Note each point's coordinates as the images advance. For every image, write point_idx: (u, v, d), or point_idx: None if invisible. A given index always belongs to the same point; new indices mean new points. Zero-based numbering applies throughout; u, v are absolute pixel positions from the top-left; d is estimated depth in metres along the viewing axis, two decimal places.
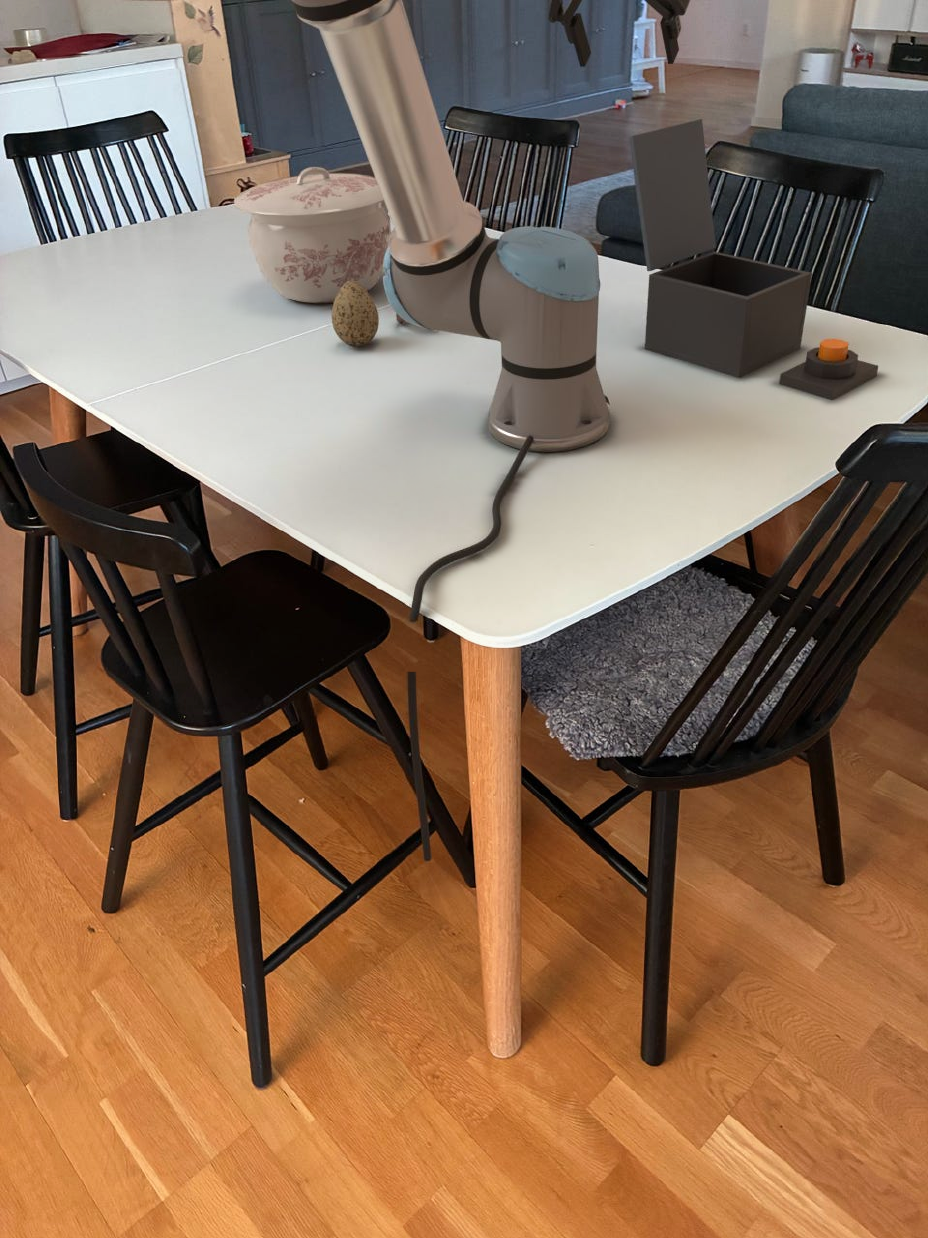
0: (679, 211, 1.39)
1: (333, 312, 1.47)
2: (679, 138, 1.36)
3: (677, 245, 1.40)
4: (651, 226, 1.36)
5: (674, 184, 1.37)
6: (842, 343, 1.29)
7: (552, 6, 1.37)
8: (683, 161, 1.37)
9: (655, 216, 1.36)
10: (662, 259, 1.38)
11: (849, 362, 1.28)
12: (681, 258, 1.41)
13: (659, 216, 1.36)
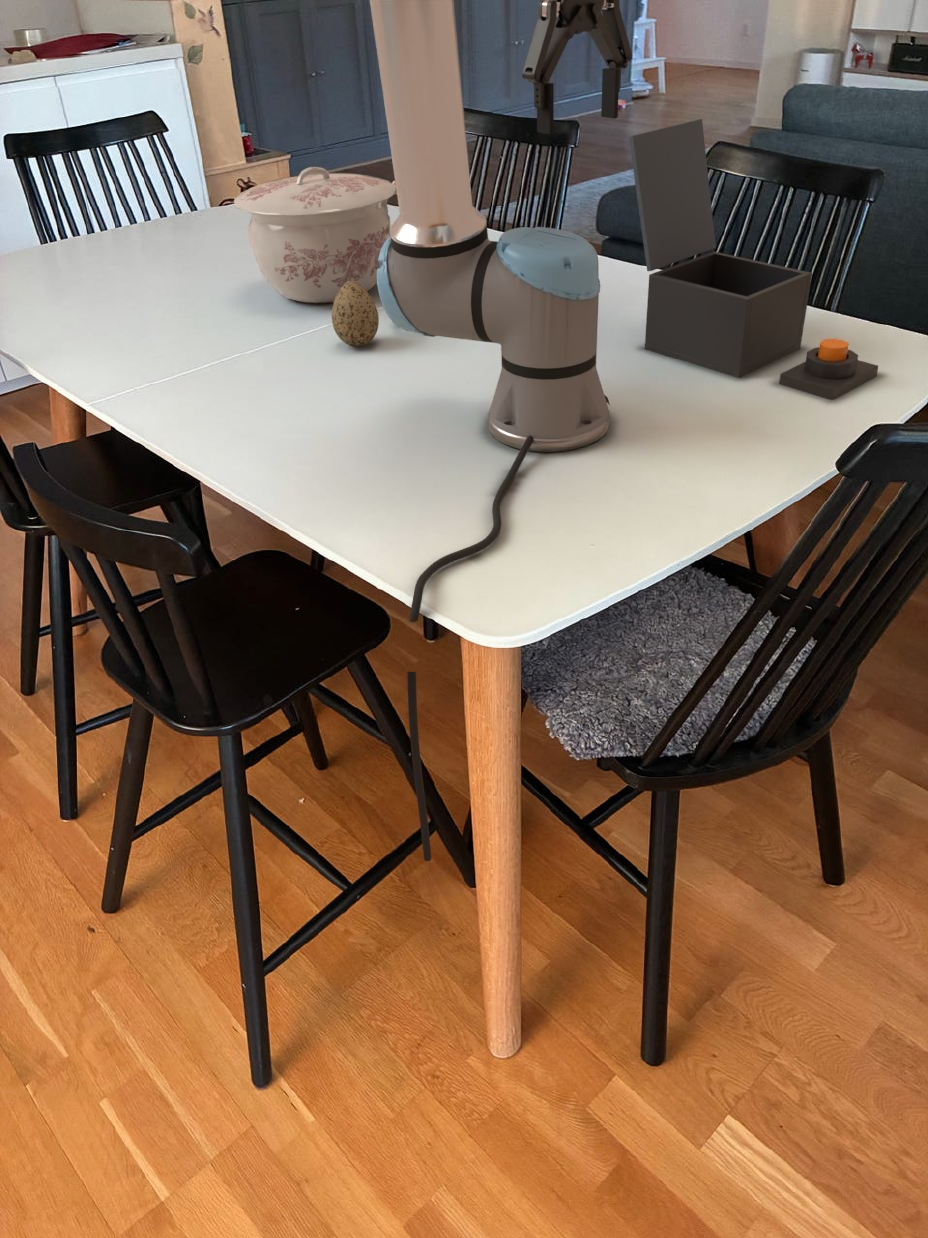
0: (679, 211, 1.39)
1: (333, 312, 1.47)
2: (679, 138, 1.36)
3: (677, 245, 1.40)
4: (651, 226, 1.36)
5: (674, 184, 1.37)
6: (842, 343, 1.29)
7: (540, 59, 1.35)
8: (683, 161, 1.37)
9: (655, 216, 1.36)
10: (662, 259, 1.38)
11: (849, 362, 1.28)
12: (681, 258, 1.41)
13: (659, 216, 1.36)
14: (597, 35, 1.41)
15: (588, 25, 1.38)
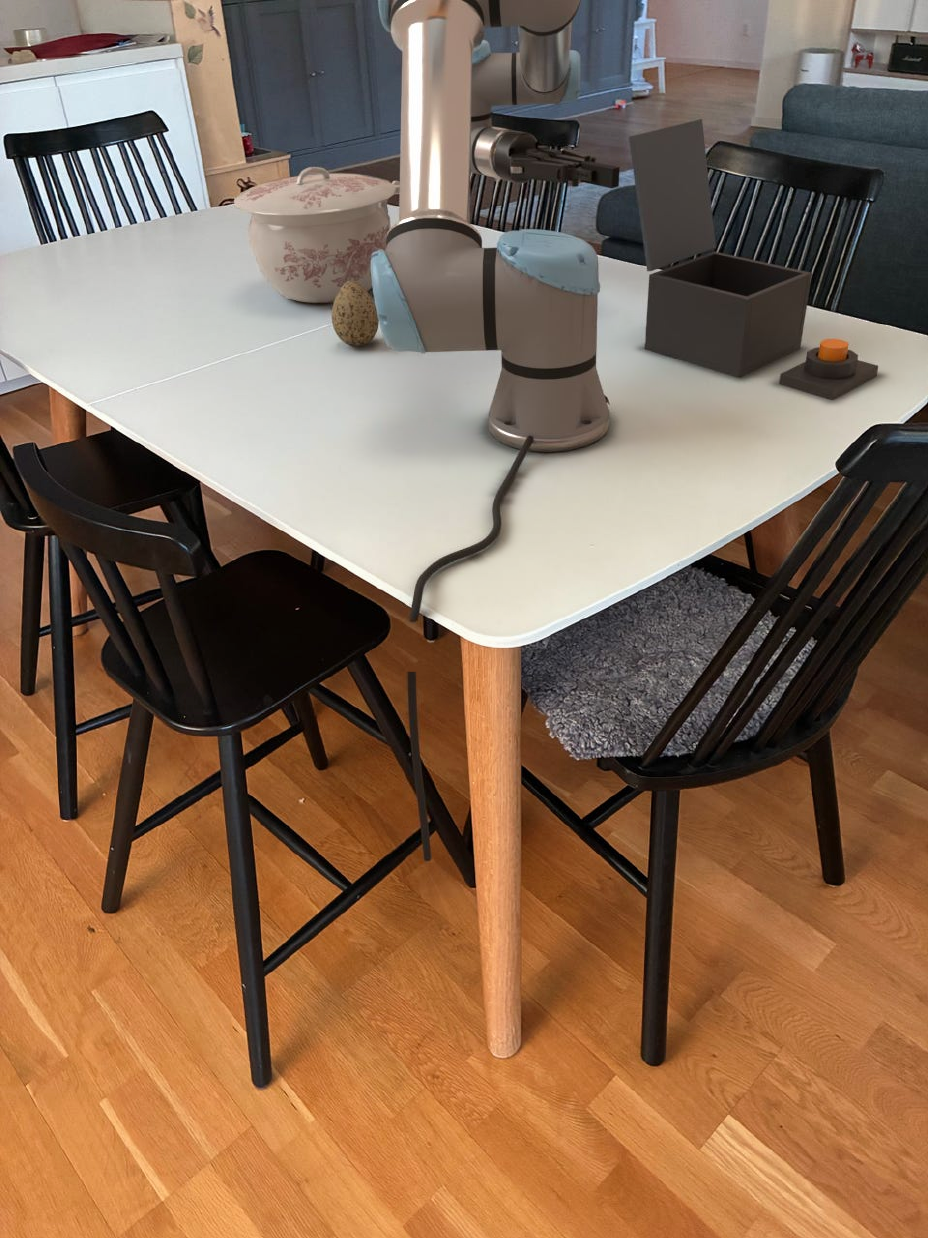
0: (679, 211, 1.39)
1: (333, 312, 1.47)
2: (679, 138, 1.36)
3: (677, 245, 1.40)
4: (651, 226, 1.36)
5: (674, 184, 1.37)
6: (842, 343, 1.29)
7: (551, 163, 1.48)
8: (683, 161, 1.37)
9: (655, 216, 1.36)
10: (662, 259, 1.38)
11: (849, 362, 1.28)
12: (681, 258, 1.41)
13: (659, 216, 1.36)
14: None
15: (548, 154, 1.54)
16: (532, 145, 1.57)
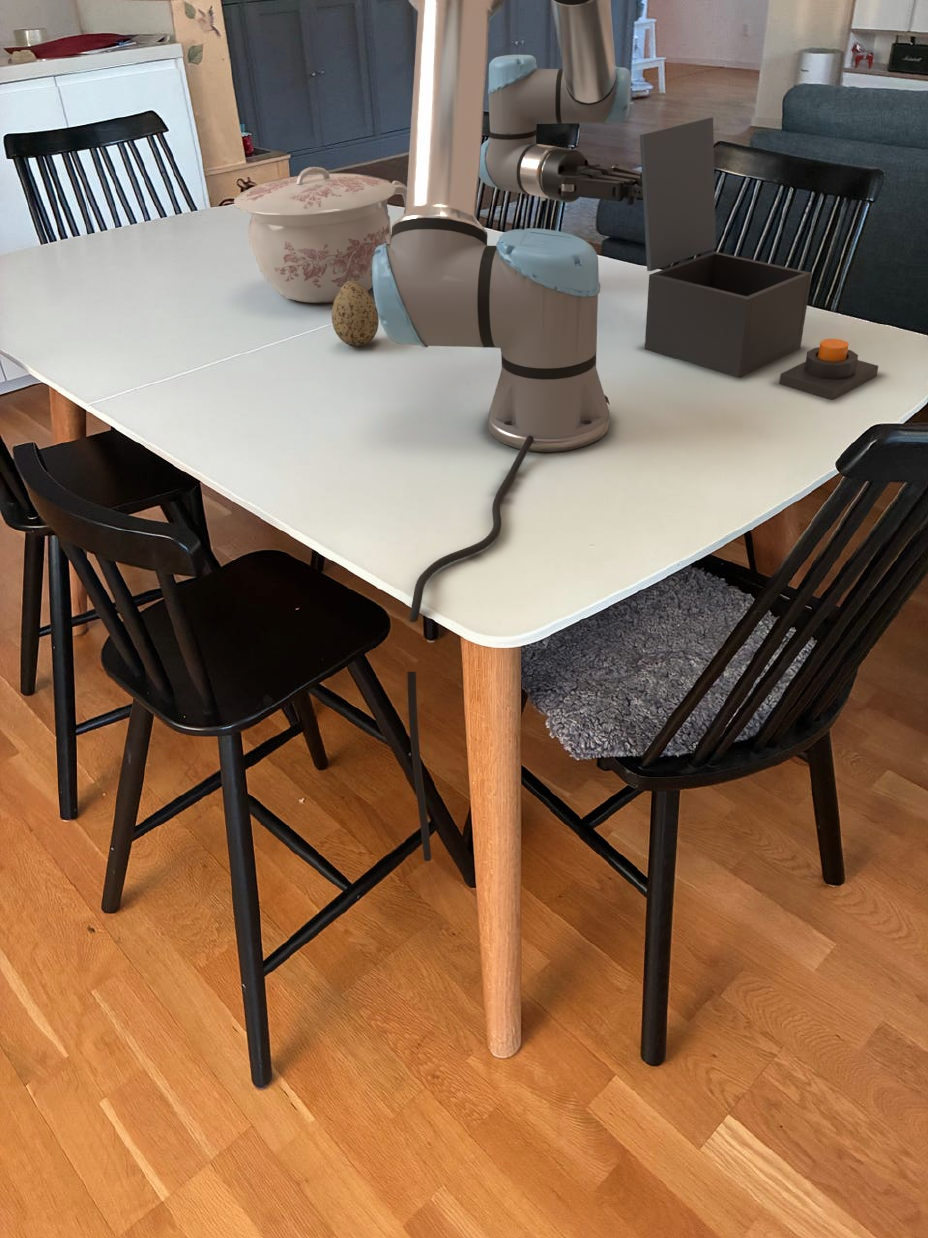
0: (683, 211, 1.38)
1: (333, 312, 1.47)
2: (689, 137, 1.35)
3: (679, 245, 1.40)
4: (654, 226, 1.35)
5: (680, 184, 1.36)
6: (842, 343, 1.29)
7: (606, 181, 1.41)
8: (691, 160, 1.36)
9: (660, 216, 1.35)
10: (663, 259, 1.38)
11: (849, 362, 1.28)
12: (681, 258, 1.41)
13: (663, 216, 1.36)
14: None
15: None
16: (581, 163, 1.50)
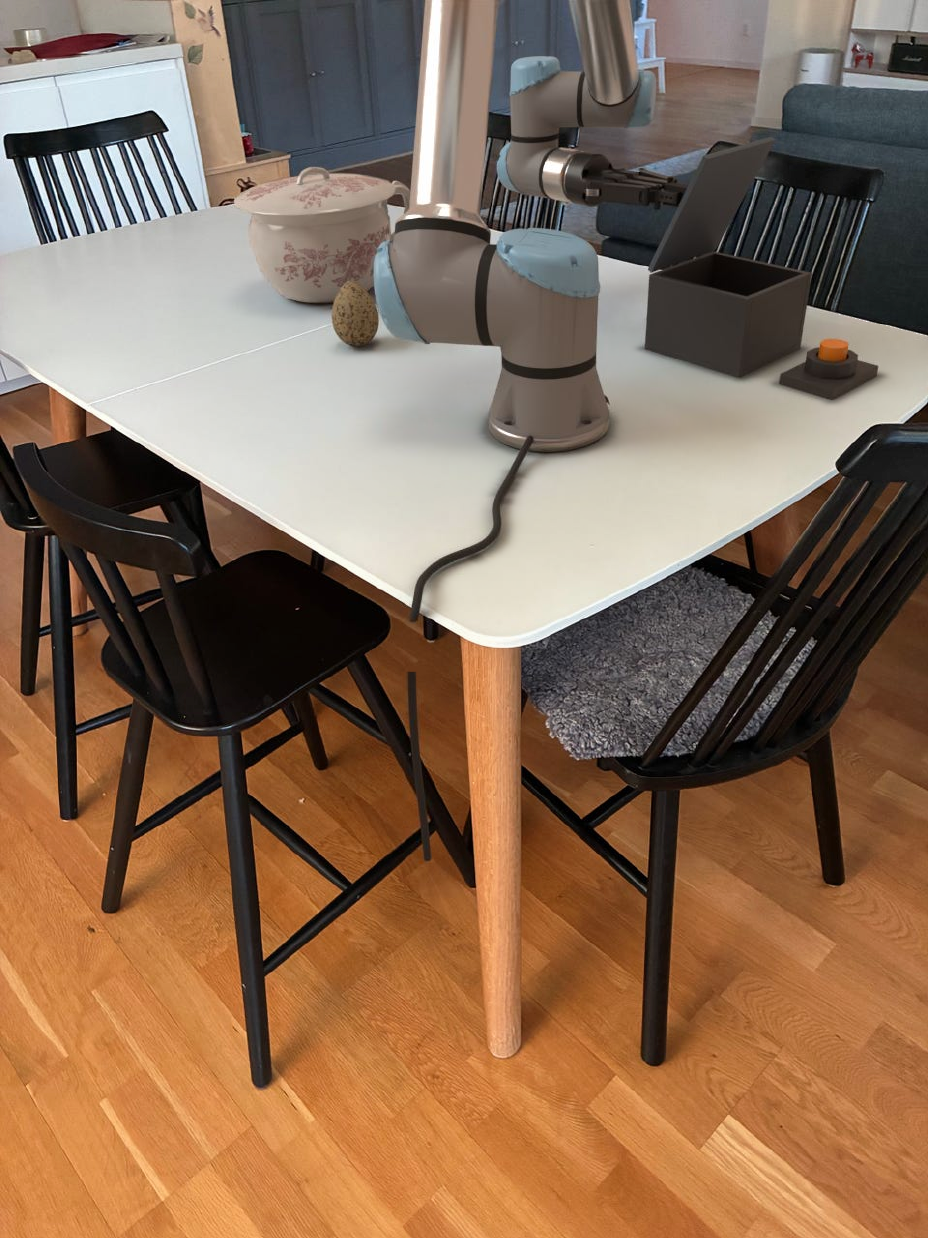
0: (704, 222, 1.36)
1: (333, 312, 1.47)
2: (745, 159, 1.30)
3: (685, 250, 1.39)
4: (673, 236, 1.34)
5: (715, 199, 1.33)
6: (842, 343, 1.29)
7: (632, 185, 1.38)
8: (735, 179, 1.32)
9: (682, 227, 1.33)
10: (665, 262, 1.38)
11: (849, 362, 1.28)
12: (681, 260, 1.41)
13: (685, 227, 1.34)
14: None
15: None
16: (605, 166, 1.47)
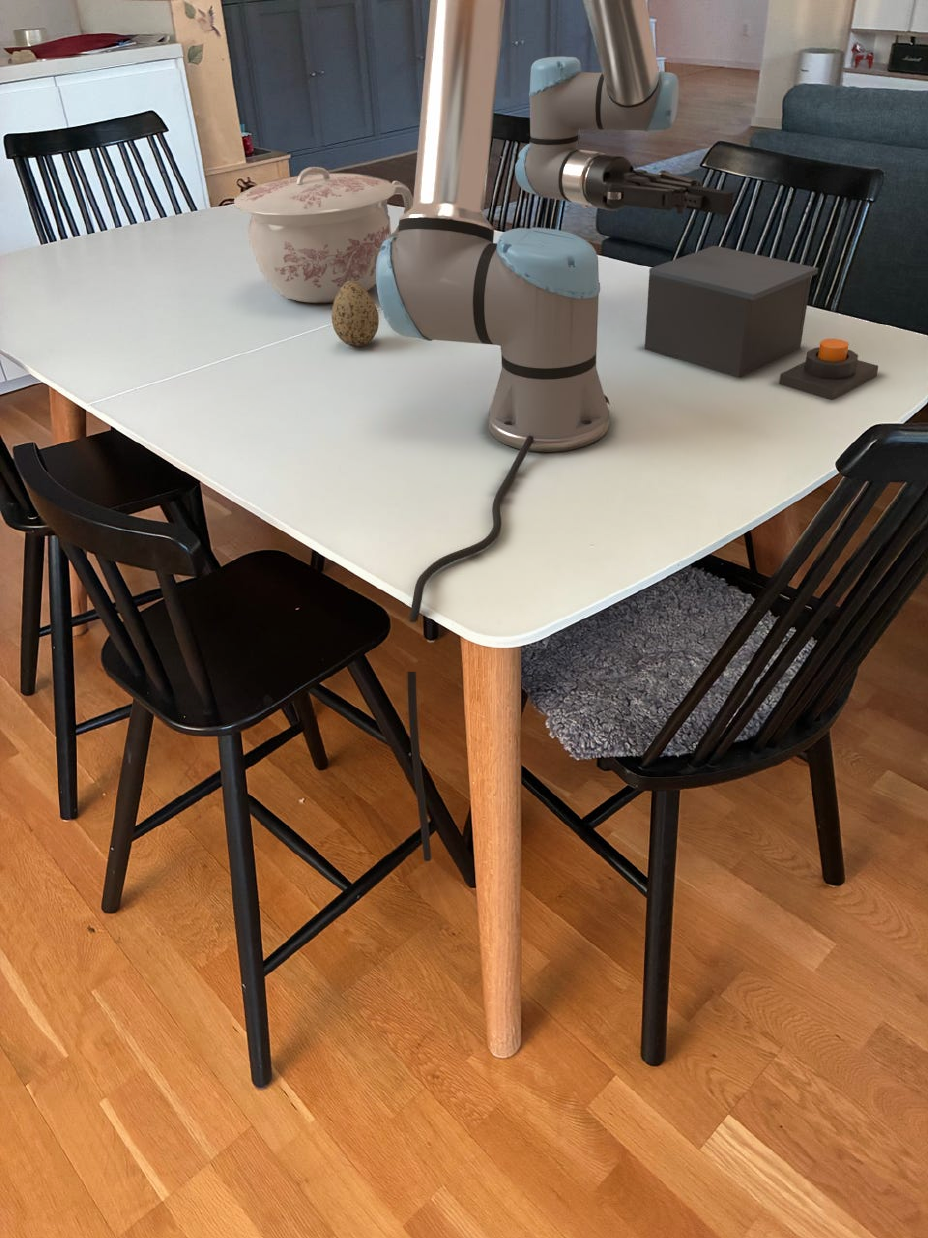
0: None
1: (333, 312, 1.47)
2: None
3: None
4: None
5: None
6: (842, 343, 1.29)
7: (655, 189, 1.36)
8: None
9: None
10: None
11: (849, 362, 1.28)
12: None
13: None
14: None
15: None
16: (627, 169, 1.44)
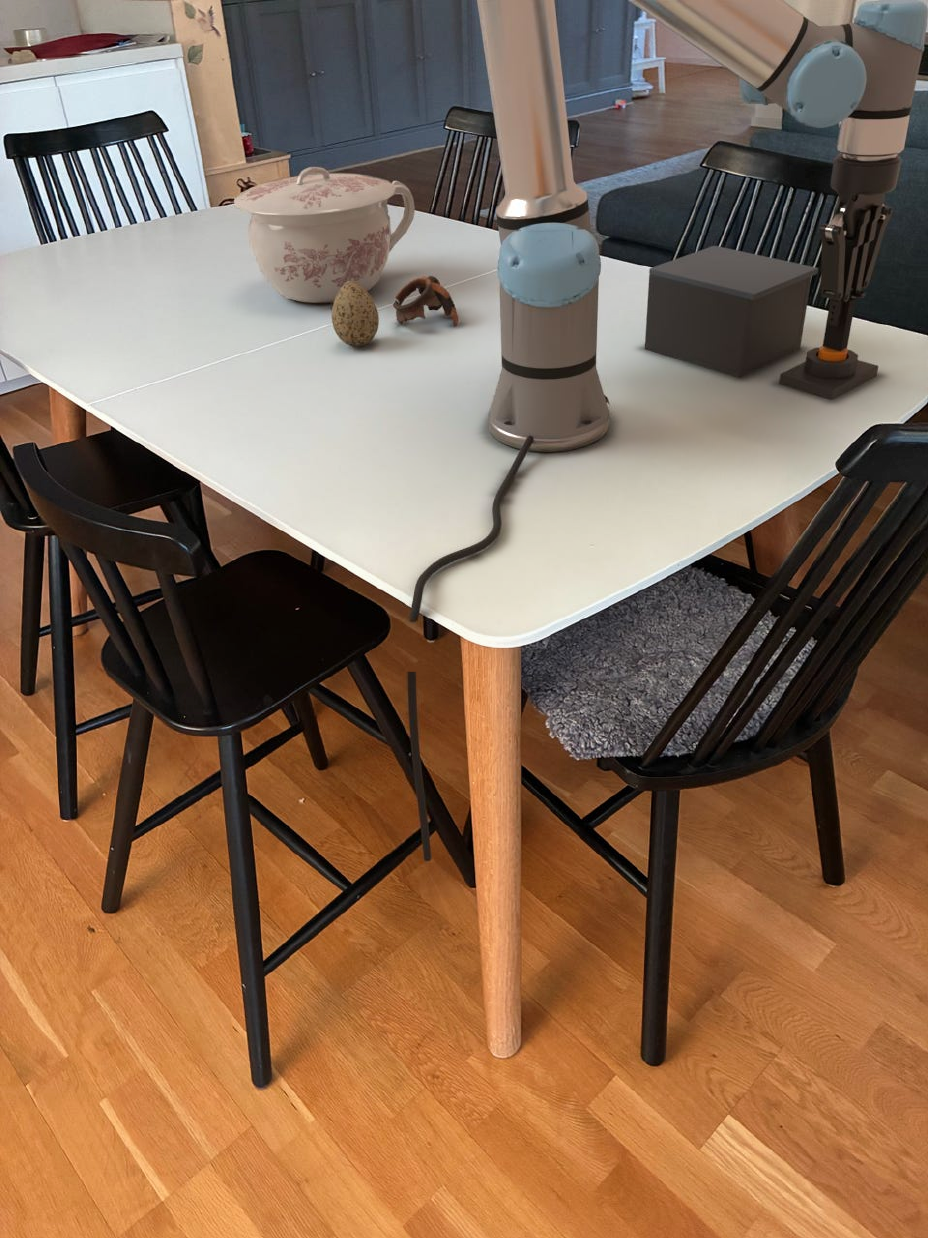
0: None
1: (333, 312, 1.47)
2: None
3: None
4: None
5: None
6: None
7: (839, 282, 1.21)
8: None
9: None
10: None
11: (849, 362, 1.28)
12: None
13: None
14: None
15: (866, 228, 1.20)
16: None
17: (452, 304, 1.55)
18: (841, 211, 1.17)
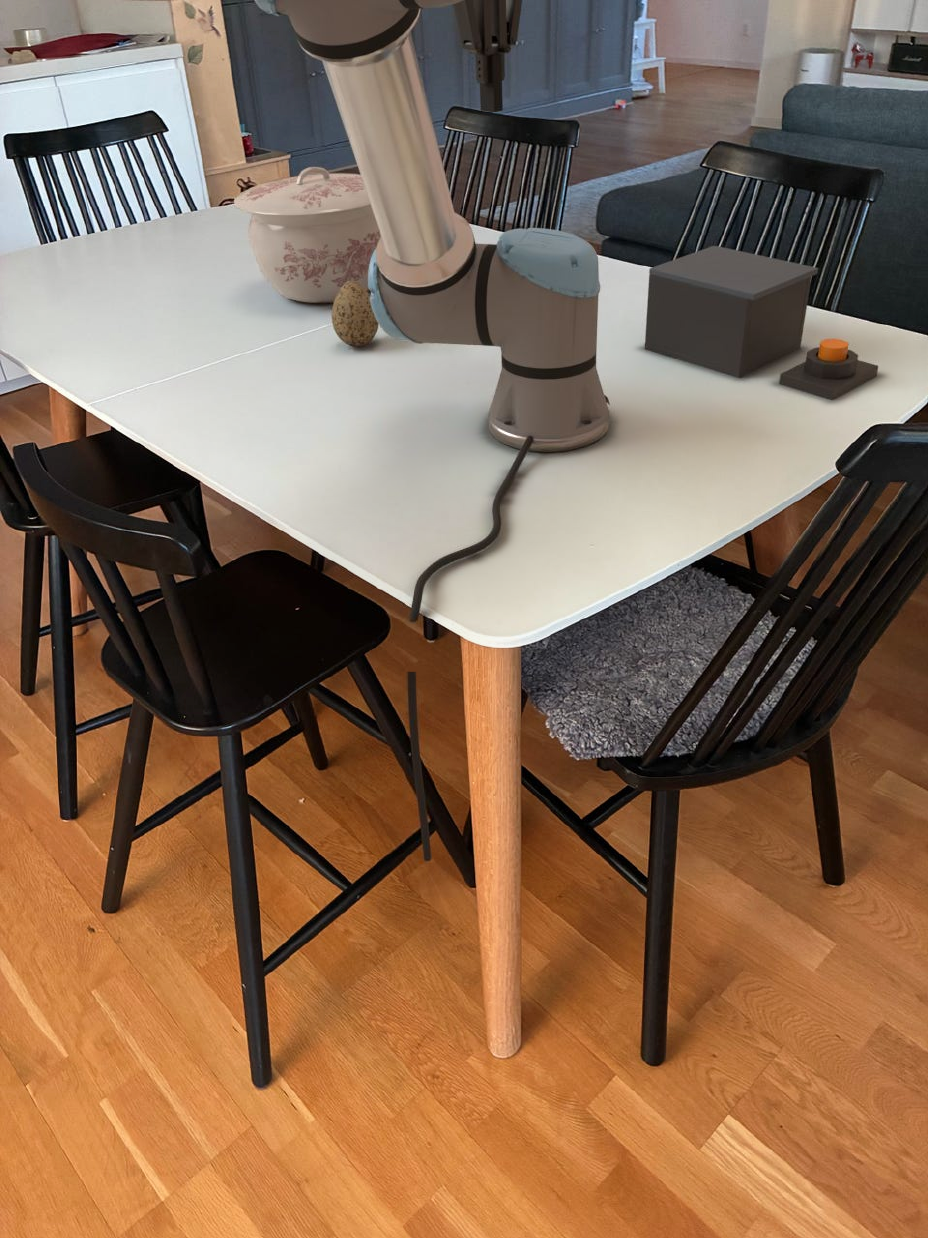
0: None
1: (333, 312, 1.47)
2: None
3: None
4: None
5: None
6: (842, 343, 1.29)
7: (473, 28, 1.20)
8: None
9: None
10: None
11: (849, 362, 1.28)
12: None
13: None
14: None
15: None
16: None
17: None
18: None
